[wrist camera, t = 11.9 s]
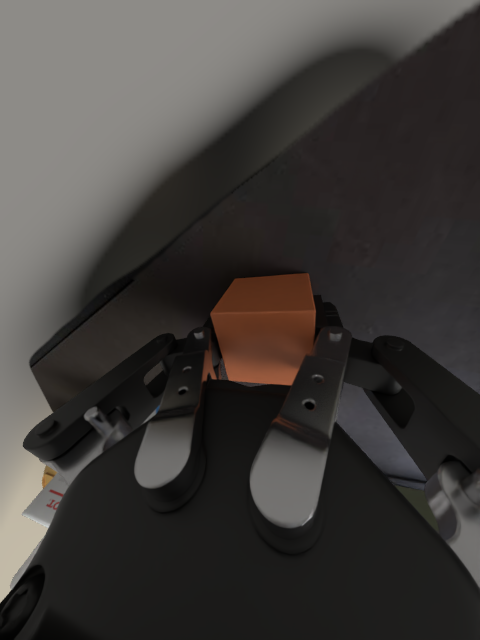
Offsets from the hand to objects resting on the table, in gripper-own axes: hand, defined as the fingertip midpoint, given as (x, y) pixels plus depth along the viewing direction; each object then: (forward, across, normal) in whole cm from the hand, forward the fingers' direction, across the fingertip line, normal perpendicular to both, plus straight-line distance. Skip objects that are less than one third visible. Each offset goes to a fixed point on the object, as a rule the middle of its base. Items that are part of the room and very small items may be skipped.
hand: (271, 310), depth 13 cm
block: (0, 0, 0) cm, 0 cm away
